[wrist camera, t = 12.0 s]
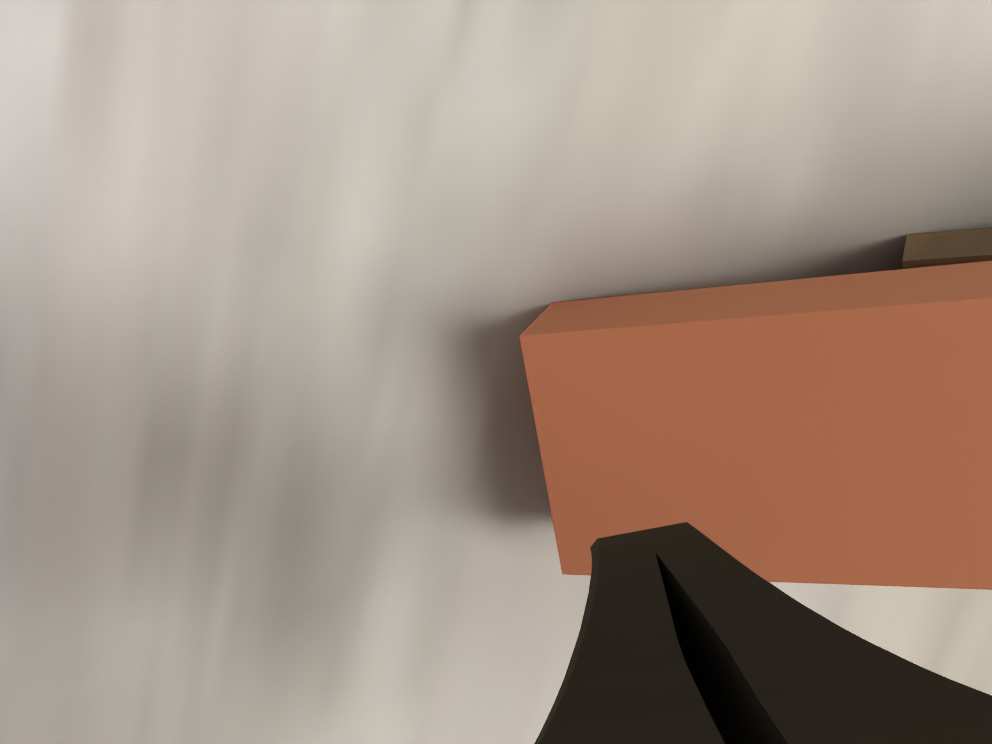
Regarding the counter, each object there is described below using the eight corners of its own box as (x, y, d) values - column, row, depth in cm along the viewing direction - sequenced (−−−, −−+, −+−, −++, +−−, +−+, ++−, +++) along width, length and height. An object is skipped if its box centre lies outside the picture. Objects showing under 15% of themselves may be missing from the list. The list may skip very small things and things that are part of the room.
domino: (551, 302, 16) (1078, 252, 13) (587, 518, 18) (1068, 522, 15) (519, 335, 15) (1127, 286, 11) (562, 574, 16) (1108, 593, 13)
